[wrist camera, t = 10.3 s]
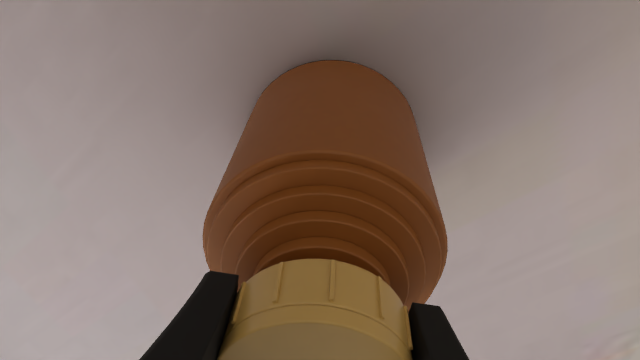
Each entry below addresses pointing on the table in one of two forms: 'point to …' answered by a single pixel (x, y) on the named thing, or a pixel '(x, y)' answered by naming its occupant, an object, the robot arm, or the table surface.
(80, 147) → the table surface
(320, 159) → the amber bottle
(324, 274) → the cap
